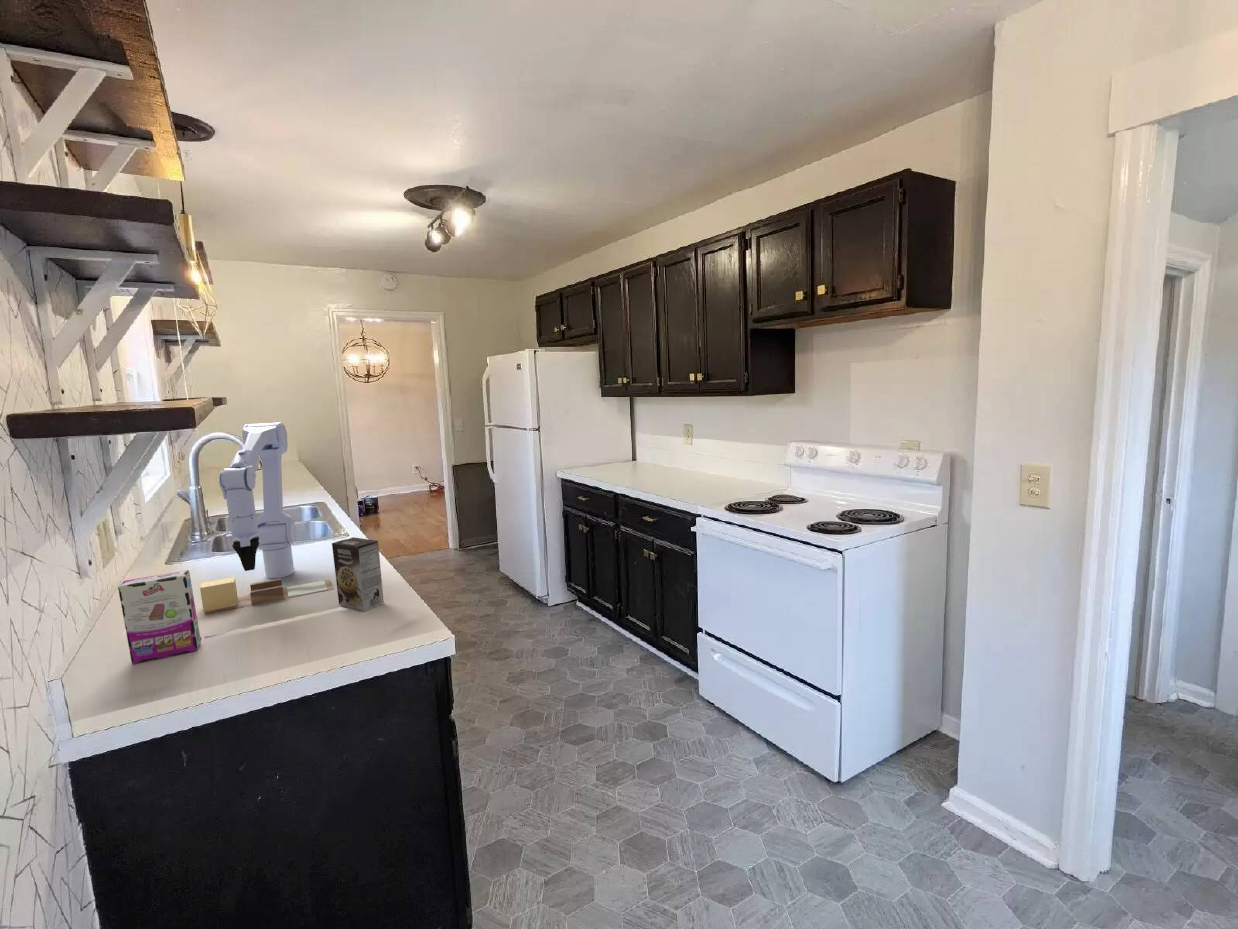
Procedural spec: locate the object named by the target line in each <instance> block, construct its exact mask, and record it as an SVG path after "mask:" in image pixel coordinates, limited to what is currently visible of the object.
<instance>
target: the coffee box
mask: <svg viewBox="0 0 1238 929" xmlns="http://www.w3.org/2000/svg"><path fill="white" fill-rule="evenodd" d="M331 547H332V555H333V556H332V557H333V565H334V573H335V574H334V575H335V582H336V588H337V589H336V591H337V599H338V604H339V605H341V608H343V609H348V610H353V611H356V612H357V611H358V612H362V613H365V612H367V611H370V610H372V609H374V608H376V607H375V606H377V607H378V605H379V606H381V605H383V604H382V603H384V604H385V602H384V591H383V580H382V569H381V559H380V558H381V556H380V547H379V540H375V539H367V538H362V537H354V536H353V537H350V538H347V539H346V538H345V539H341V540H337V541H334V542H332V543H331ZM380 604H381V605H380ZM373 607H374V608H373ZM371 608H372V609H371ZM369 609H370V610H369Z"/></svg>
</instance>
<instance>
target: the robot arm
mask: <svg viewBox="0 0 1238 929" xmlns="http://www.w3.org/2000/svg"><path fill="white" fill-rule="evenodd" d="M241 432H242V434H241V436H242V440H243V442H244V445H243V448H242V449H241V450H240V449H239V450H237V452H236V453H235V455H234V457H233V459H232V461H231V462H230V464H229V466H228V468H224V469H223V470H221V471H220V474H219V475H218V476H219V477H218V479H219V481H218V483H219V487H220V489H221V491H222V496H223V499H224V500H226V507H227V512H228V522H229V527H230V534H226V535H225V538H226V540H227V539H232V540H233V541H232V543H233V544H232V545H231V546H232V549H233V550H234V551H235V552H236V554H237V556H238V557H239V560H240V561H241V565H242V568H243V570H244V571H245V572H248V571H249V572H250V571H254V570H256V557H257V551H258V548H259V550H261V551H262V558H263V559H262V560H263V566H264V573H263V578H267V579H280V578H285V577H288V576H291V575H293V574H294V573H295V572H297V571H296V567H295V566H294V557H293V551H292V545H293V544H294V543H295V542H296V539H297V529H296V528H297V527H296V523H295V519H294V517H293V516H292V515H290V514H288V513H287V512H285V511H284V502H283V499H284V498H283V475H282V474H283V473H282V457H283V456H282V455H284V454H286V452H288V432H287V429H286V426H285V424H284V423H283V422H282V421H279V422H270V423H246V424H244V426H243V427H242V431H241ZM260 463H261V470H262V471H261V472H262V494H263V496H262V498H263V503H262V504H263V513H262V514H261V515H259V517H257V513H256V506H255V505H256V504H255V498H254V496H255V495H254V491H253V490H254V488H255V487H256V478H257V473H256V471H257V469H258V467H259V465H260Z"/></svg>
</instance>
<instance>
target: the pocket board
mask: <svg viewBox="0 0 1238 929" xmlns="http://www.w3.org/2000/svg"><path fill="white" fill-rule="evenodd" d="M249 586H250V592H249V594H245V595H240V596H239V595H238V605H236V606H231V607H226V608H221V609H216V610H211V611H206V612H204V613H205V614H204V615H205V616H207V615H208V616H209V615H212V614H216V613H222V612H228V611H231V610H237V609H242V608H247V607H248V608H249V607H252V606H257V605H258V606H259V605H262V604H268V603H272V602H277V601H282V600H283V601H284V600H288V599H293V598H297V597H302V596H308V595H312V594H313V595H314V594H318V593H322V592H323V593H324V592H329V591H332V590H334V589H335V588H334V585H333V584H332V580H331V579H325V580H324V579H323V580H318V581H312V582H307V583H301V584H297V585H291V586H287V587H283V582H282V577H280V578H274V579H270V580H265V581H260V582H259V581H258V582H253V583H250V585H249Z"/></svg>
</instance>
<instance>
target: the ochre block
mask: <svg viewBox="0 0 1238 929" xmlns="http://www.w3.org/2000/svg"><path fill="white" fill-rule="evenodd" d="M199 591H200V597H201V598H200V599H201V604H202V611H203V613H206V611H211V610H216V609H221V608H226V607H231V606H236V605H238V597H239V595H238V590H237V582H236V577H235V576H233V577H228V578H222V579H217V580H210V581H205V582H201V584H200V587H199Z"/></svg>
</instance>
